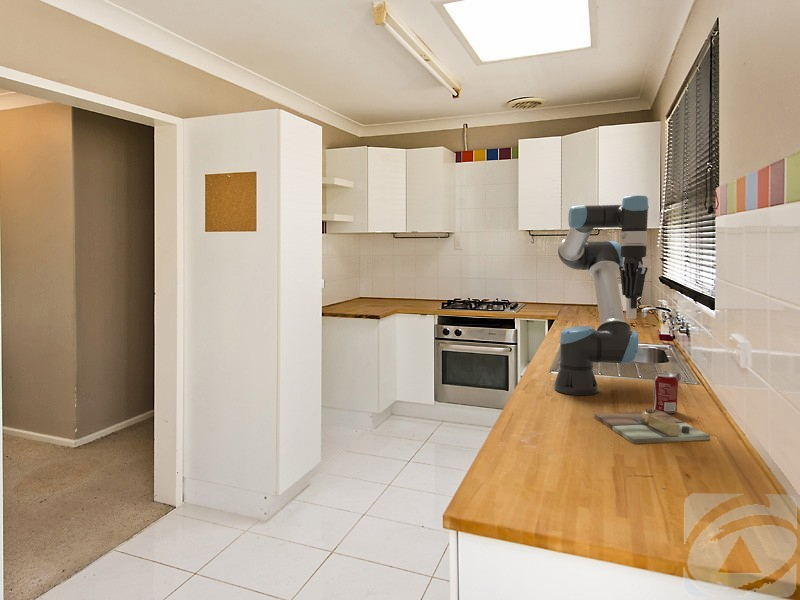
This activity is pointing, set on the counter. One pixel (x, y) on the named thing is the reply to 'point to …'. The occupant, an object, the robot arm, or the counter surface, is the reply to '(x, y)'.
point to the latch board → (647, 428)
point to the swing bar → (659, 422)
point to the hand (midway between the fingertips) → (631, 318)
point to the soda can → (665, 393)
